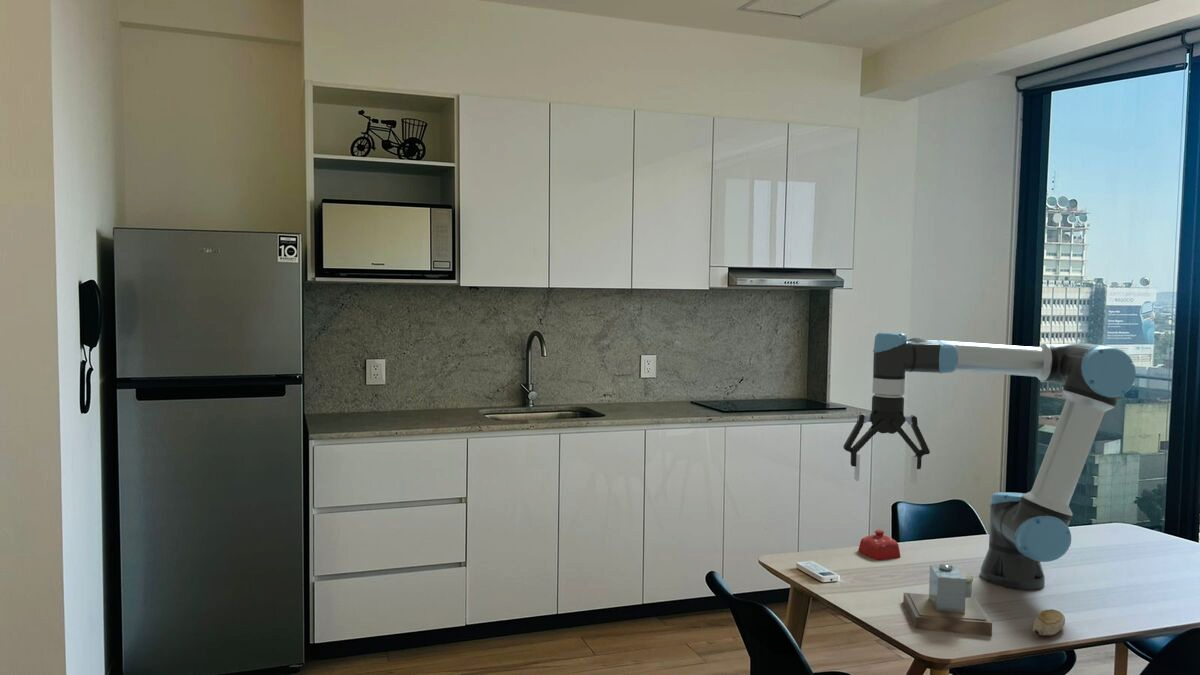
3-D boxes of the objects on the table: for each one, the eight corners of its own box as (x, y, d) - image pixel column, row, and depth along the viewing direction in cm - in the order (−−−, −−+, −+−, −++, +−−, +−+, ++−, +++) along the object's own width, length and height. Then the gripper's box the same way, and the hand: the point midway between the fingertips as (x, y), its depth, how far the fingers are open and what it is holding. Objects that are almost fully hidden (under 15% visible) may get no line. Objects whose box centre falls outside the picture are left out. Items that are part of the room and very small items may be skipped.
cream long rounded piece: (1053, 629, 188) (1048, 647, 189) (1073, 610, 198) (1068, 628, 199) (1028, 618, 191) (1023, 636, 192) (1048, 600, 202) (1043, 617, 202)
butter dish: (875, 568, 240) (876, 537, 239) (848, 556, 250) (849, 526, 250) (909, 564, 244) (910, 533, 243) (881, 552, 254) (882, 523, 254)
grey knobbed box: (964, 614, 196) (966, 575, 196) (936, 612, 197) (938, 573, 197) (955, 600, 205) (957, 563, 205) (928, 598, 206) (930, 561, 206)
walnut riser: (973, 610, 208) (974, 596, 208) (991, 636, 192) (992, 621, 192) (903, 604, 211) (903, 591, 211) (915, 630, 195) (915, 616, 195)
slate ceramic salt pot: (969, 599, 216) (970, 572, 215) (974, 607, 210) (975, 579, 210) (945, 597, 217) (946, 571, 216) (950, 605, 211) (951, 578, 211)
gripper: (937, 395, 218) (933, 479, 220) (834, 391, 222) (831, 475, 223) (944, 399, 211) (941, 486, 212) (838, 395, 214) (835, 481, 215)
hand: (884, 480), depth 218 cm, fingers open, 13 cm apart
